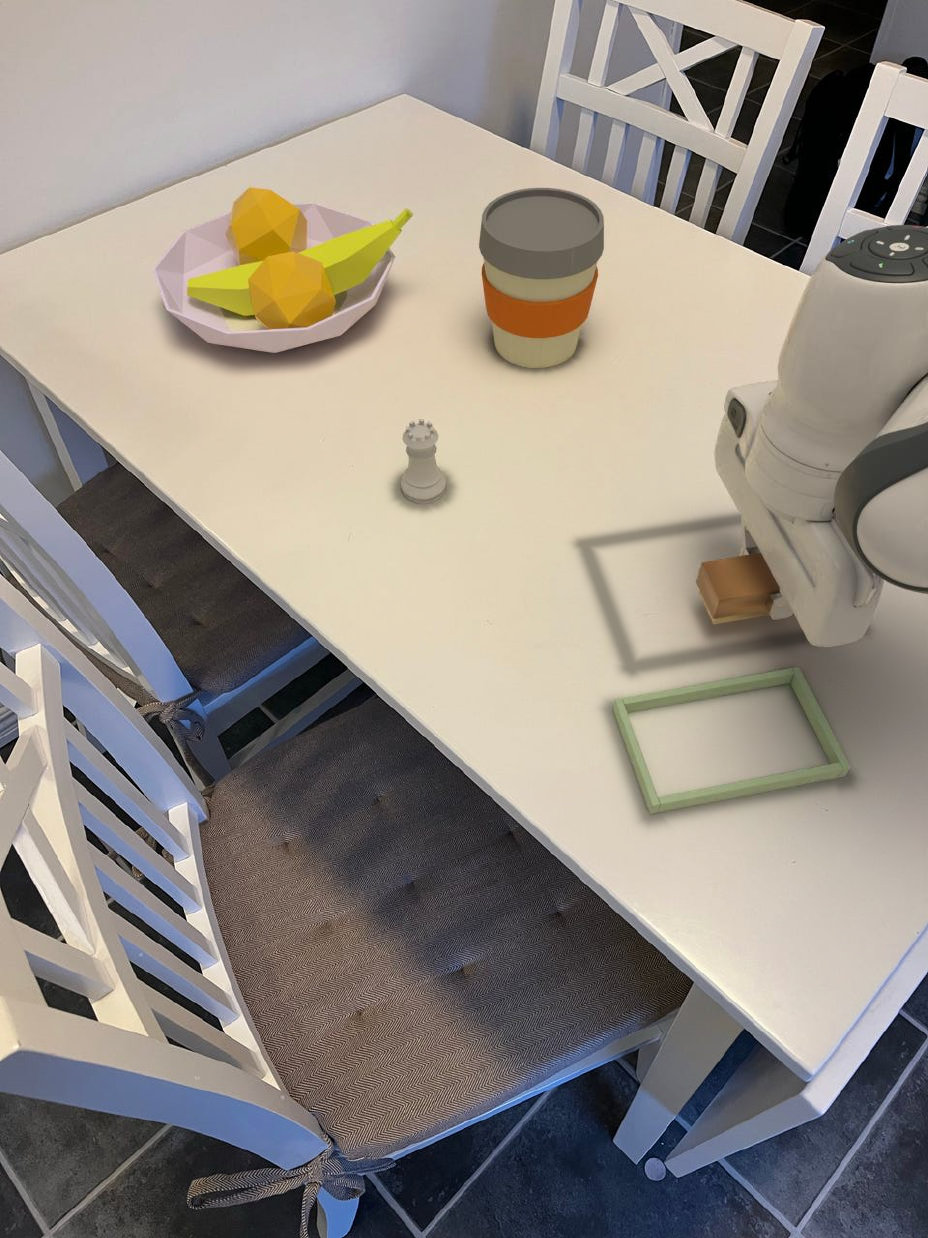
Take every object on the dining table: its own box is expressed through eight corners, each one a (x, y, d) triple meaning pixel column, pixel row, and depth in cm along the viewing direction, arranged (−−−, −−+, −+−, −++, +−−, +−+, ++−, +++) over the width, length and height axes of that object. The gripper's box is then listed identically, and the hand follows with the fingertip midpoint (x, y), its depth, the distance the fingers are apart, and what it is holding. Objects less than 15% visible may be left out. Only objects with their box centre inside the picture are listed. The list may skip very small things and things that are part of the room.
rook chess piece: (452, 481, 88) (450, 416, 82) (439, 513, 86) (436, 449, 79) (409, 473, 89) (403, 408, 83) (394, 504, 86) (388, 440, 80)
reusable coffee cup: (513, 302, 106) (517, 175, 94) (610, 334, 102) (628, 205, 90) (458, 360, 100) (455, 230, 88) (559, 396, 96) (571, 266, 84)
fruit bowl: (129, 363, 100) (95, 269, 91) (226, 235, 116) (205, 145, 107) (372, 400, 96) (361, 305, 87) (437, 261, 112) (433, 169, 103)
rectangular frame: (792, 680, 74) (798, 666, 72) (842, 780, 68) (851, 767, 66) (611, 712, 72) (614, 699, 70) (648, 818, 66) (652, 805, 65)
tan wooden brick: (804, 572, 77) (817, 542, 74) (825, 608, 75) (839, 579, 72) (692, 591, 76) (701, 562, 73) (709, 628, 73) (719, 600, 71)
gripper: (932, 563, 57) (858, 684, 68) (796, 365, 69) (752, 494, 80) (839, 579, 56) (779, 698, 67) (718, 376, 69) (684, 505, 80)
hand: (763, 586), depth 74 cm, fingers closed on tan wooden brick, 4 cm apart
